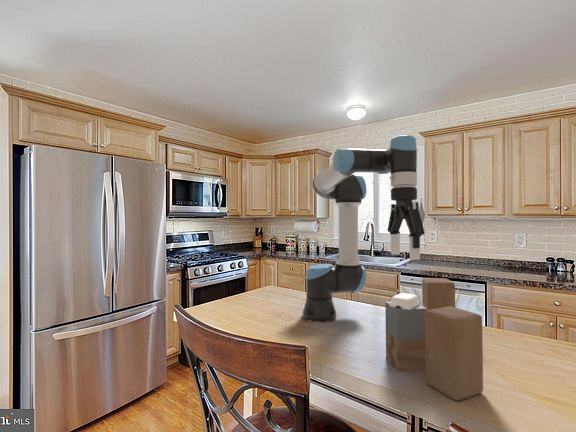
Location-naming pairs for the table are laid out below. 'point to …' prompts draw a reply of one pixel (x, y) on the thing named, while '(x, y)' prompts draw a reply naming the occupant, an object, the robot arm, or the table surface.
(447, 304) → the wooden block
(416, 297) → the soap
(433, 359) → the block
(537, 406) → the table surface
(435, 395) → the table surface
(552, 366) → the table surface
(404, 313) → the grey cube
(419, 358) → the walnut base cube
